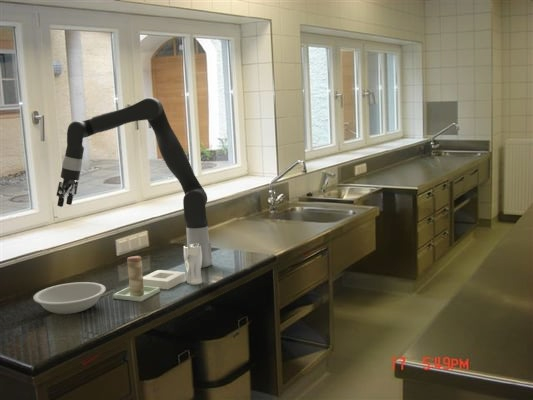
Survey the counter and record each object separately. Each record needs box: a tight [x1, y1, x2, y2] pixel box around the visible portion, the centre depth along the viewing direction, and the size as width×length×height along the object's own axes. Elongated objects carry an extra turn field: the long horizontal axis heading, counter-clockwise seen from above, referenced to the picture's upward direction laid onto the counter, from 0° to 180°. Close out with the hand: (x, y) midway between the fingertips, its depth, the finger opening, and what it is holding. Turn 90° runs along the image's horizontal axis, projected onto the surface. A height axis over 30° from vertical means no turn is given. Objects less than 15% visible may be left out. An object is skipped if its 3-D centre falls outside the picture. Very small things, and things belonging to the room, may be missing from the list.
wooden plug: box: [126, 255, 144, 296], centre depth 230 cm, size 5×5×14 cm
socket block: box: [143, 269, 187, 290], centre depth 244 cm, size 13×13×4 cm
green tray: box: [112, 286, 161, 302], centre depth 231 cm, size 12×12×2 cm
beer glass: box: [183, 243, 203, 286], centre depth 243 cm, size 7×7×15 cm
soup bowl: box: [32, 281, 107, 315], centre depth 218 cm, size 24×24×7 cm
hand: (64, 205), depth 266 cm, fingers open, 8 cm apart
